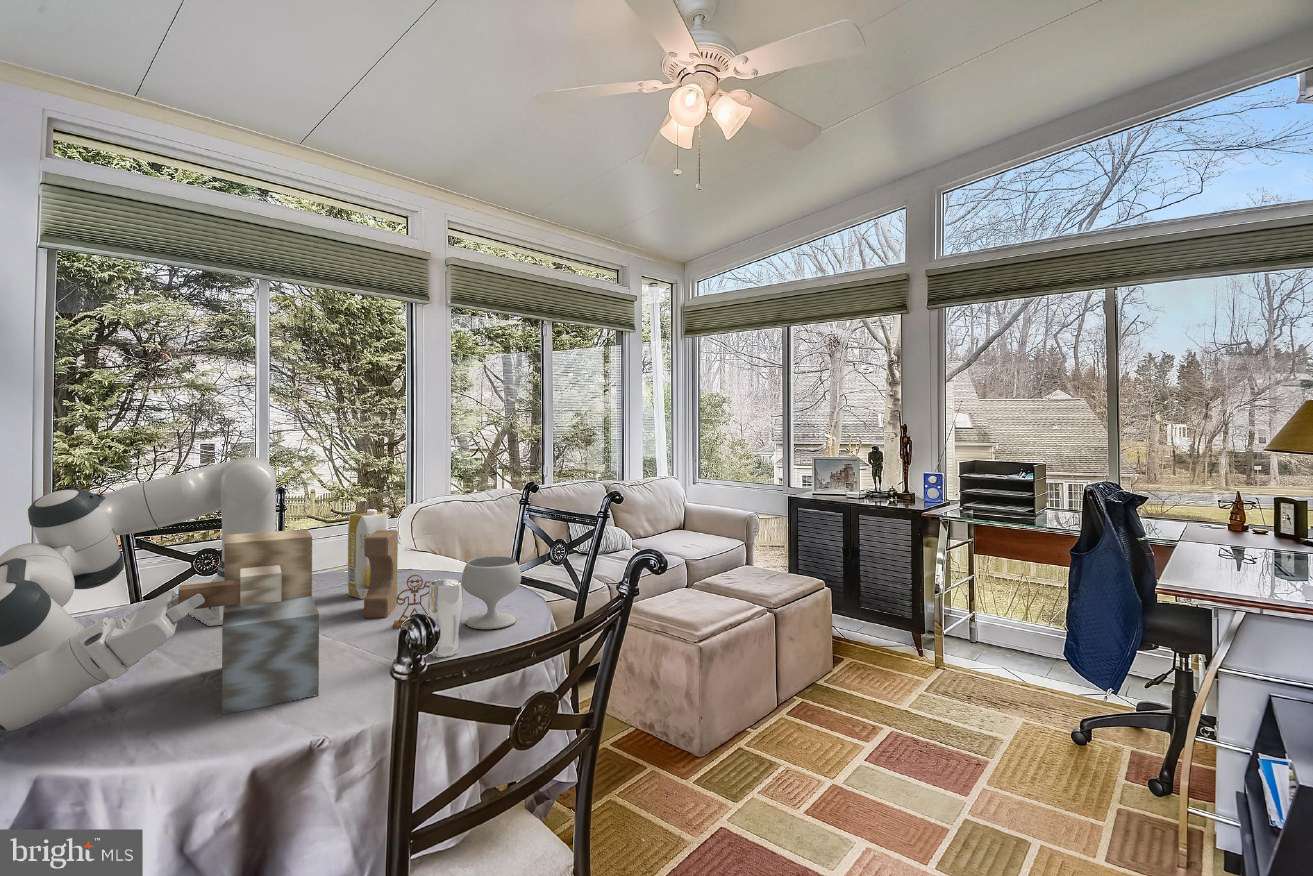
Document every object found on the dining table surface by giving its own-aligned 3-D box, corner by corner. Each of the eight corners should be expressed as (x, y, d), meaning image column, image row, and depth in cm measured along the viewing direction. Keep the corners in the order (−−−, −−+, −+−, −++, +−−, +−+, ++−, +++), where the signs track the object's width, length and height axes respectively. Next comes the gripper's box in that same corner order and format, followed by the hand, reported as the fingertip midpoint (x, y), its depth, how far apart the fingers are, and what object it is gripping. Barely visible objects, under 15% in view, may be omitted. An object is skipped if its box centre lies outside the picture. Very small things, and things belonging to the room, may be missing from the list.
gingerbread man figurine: (394, 629, 146) (395, 578, 145) (393, 624, 149) (394, 574, 149) (434, 624, 149) (435, 575, 149) (433, 620, 153) (433, 571, 153)
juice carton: (360, 600, 168) (361, 512, 167) (343, 596, 172) (344, 509, 171) (391, 593, 175) (392, 508, 175) (375, 589, 180) (375, 506, 179)
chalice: (464, 635, 142) (465, 570, 142) (458, 617, 155) (458, 557, 155) (525, 628, 148) (526, 565, 148) (514, 611, 161) (515, 553, 161)
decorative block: (387, 618, 154) (387, 537, 153) (362, 618, 153) (363, 537, 152) (398, 605, 165) (398, 529, 164) (375, 605, 164) (376, 530, 163)
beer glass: (442, 661, 127) (443, 588, 126) (420, 654, 130) (421, 582, 130) (469, 650, 133) (470, 581, 132) (447, 644, 136) (448, 576, 136)
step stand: (221, 714, 102) (222, 557, 102) (225, 667, 122) (225, 534, 121) (318, 695, 110) (319, 549, 109) (306, 653, 129) (307, 529, 129)
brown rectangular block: (177, 614, 101) (177, 583, 101) (180, 603, 107) (180, 574, 107) (281, 601, 109) (281, 573, 109) (279, 591, 115) (279, 565, 115)
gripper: (133, 641, 109) (216, 593, 115) (112, 683, 92) (212, 623, 98) (109, 613, 107) (195, 565, 113) (84, 650, 90) (187, 592, 96)
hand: (203, 593), depth 106 cm, fingers closed on brown rectangular block, 3 cm apart
